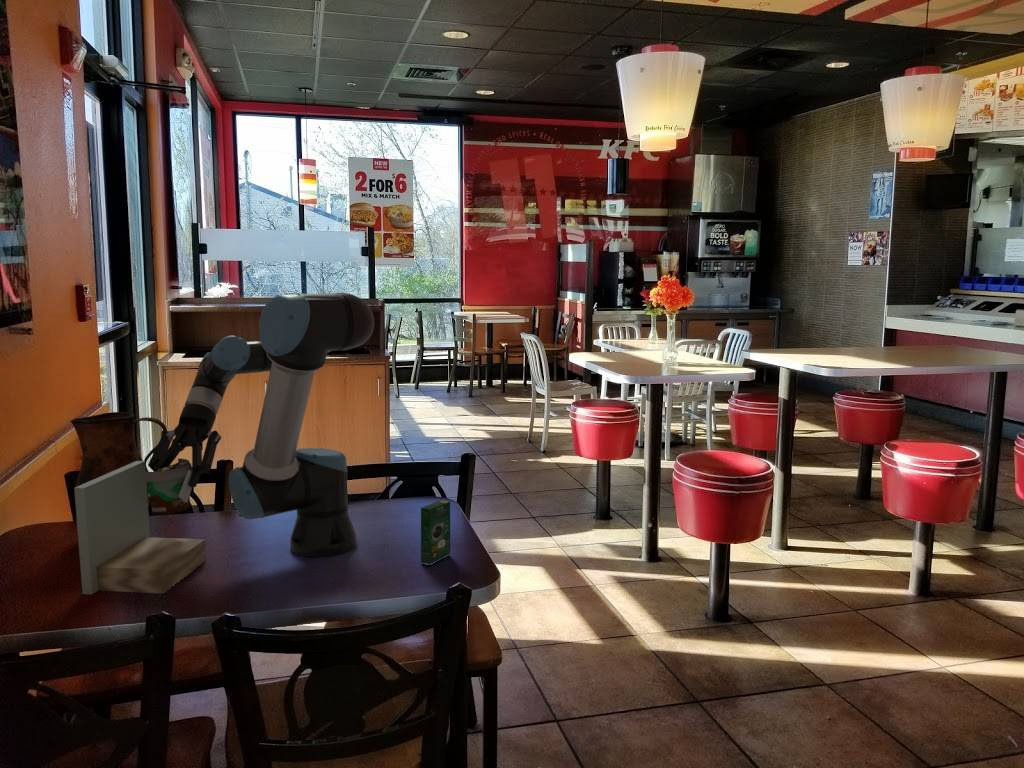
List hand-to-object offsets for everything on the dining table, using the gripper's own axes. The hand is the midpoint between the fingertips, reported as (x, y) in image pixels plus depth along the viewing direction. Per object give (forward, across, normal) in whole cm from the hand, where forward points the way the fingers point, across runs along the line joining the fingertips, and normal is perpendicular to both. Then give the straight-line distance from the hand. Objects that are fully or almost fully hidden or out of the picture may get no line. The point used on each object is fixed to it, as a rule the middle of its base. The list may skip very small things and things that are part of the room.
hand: (167, 498), depth 174 cm
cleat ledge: (+15, 0, -6) cm, 16 cm away
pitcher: (0, +21, -22) cm, 30 cm away
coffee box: (+4, -57, -19) cm, 60 cm away
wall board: (+15, +8, -6) cm, 18 cm away
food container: (0, 0, -5) cm, 5 cm away
